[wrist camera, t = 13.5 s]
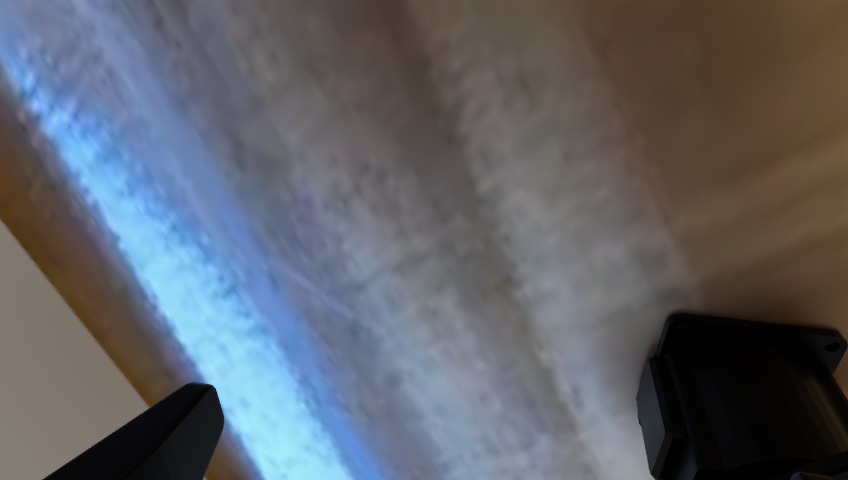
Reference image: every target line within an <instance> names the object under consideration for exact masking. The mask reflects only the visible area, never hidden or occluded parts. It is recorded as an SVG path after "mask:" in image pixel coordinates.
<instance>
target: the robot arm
mask: <svg viewBox="0 0 848 480" xmlns="http://www.w3.org/2000/svg"><path fill="white" fill-rule="evenodd" d="M678 325H685V326H683V327H681V328H676V326H678ZM830 342H834V343H832V344H830V345H827V344H828V343H830ZM847 346H848V344H847V341H846V340H845V338H844V337H843V335H842V334H841V333H840V332H838V331H835V330H828V329H819V328H810V327H801V326H792V325H782V324H773V323H764V322H755V321H746V320H737V319H728V318H719V317H710V316H701V315H692V314H683V313H679V314H674V315H672V316H670V317H669V318H668V319H667V321H666V323H665V327H664V330H663V333H662V336H661V340H660V343H659V346H658V349H657V352H656V355H652V356H651V357H650V358H649V359H648V360H647V363H646V367H645V370H644V373H643V377H642V380H641V383H640V387H639V390H638V393H637V397H636V401H637V406H638V420H639V424H640V425H641V428H642V433H643V438H644V443H645V449H646V454H647V459H648V465H649V470H650V474H651V475H652V477H653V478H654V479H655V480H848V400H847V398H846V396H845V395H844V393H843V392H842V390H841V388H840V387H839V385H838V383H837V382H836V380H835V378H834V377H833V375H832V374H833V373H834V371H835V369H836V367H837V365H838V364H839V362H840V360H841V358H842V357H843V355H844V353H845V351H846V349H847ZM223 427H224V415H223V411H222V408H221V404H220V401H219V397H218V394H217V391H216V388H215V387H214V386H213V385H210V384H204V383H197V382H191V383H188V384H186V385H184V386H182V387H181V388H179V389H178V390H176V391H175V392H173V393H172V394H170V395H169V396H167V397H166V398H164V399H163V400H161V401H160V402H158V403H157V404H155V405H154V406H152V407H151V408H149V409H148V410H146V411H145V412H143V413H142V414H140V415H139V416H137V417H136V418H134V419H133V420H131V421H130V422H128V423H127V424H125V425H124V426H122V427H121V428H119V429H118V430H116V431H115V432H113V433H112V434H110V435H109V436H107V437H106V438H104V439H103V440H101V441H100V442H98V443H97V444H95V445H94V446H92V447H91V448H89V449H88V450H86V451H85V452H83V453H81V454H80V455H78V456H77V457H76V458H74V459H72V460H71V461H69V462H68V463H66V464H65V465H63V466H62V467H60V468H59V469H57V470H56V471H55V472H53V473H51V474H50V475H48V476H47V477H45V478H44V479H42V480H203V479H204V476H205V474H206V471H207V469H208V466H209V464H210V461H211V458H212V456H213V453H214V451H215V448H216V446H217V443H218V441H219V438H220V436H221V433H222V430H223Z"/></svg>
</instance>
